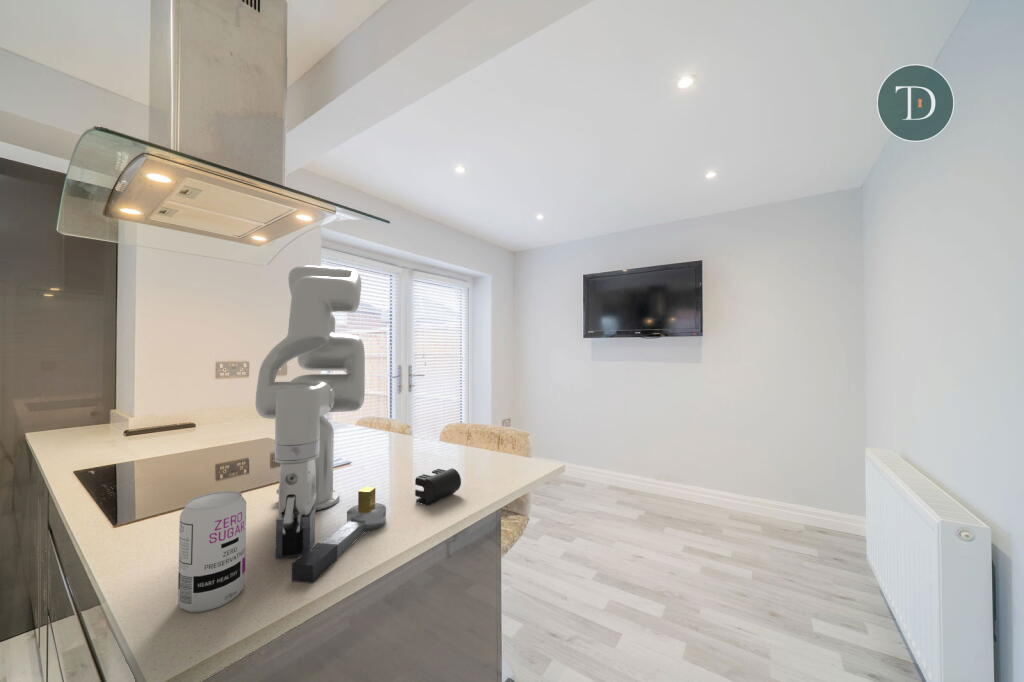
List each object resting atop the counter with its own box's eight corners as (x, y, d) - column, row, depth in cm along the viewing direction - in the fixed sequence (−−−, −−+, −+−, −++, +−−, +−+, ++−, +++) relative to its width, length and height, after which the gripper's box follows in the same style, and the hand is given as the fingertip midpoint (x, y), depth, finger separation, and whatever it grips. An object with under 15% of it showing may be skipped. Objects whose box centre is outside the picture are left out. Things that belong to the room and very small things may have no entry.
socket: (275, 558, 72) (276, 520, 72) (283, 544, 77) (283, 508, 77) (309, 554, 73) (310, 516, 73) (314, 540, 79) (315, 504, 79)
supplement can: (202, 582, 64) (204, 490, 65) (255, 580, 65) (257, 489, 65) (163, 616, 56) (165, 510, 56) (224, 613, 57) (226, 509, 57)
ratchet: (279, 579, 65) (280, 534, 65) (358, 515, 91) (359, 482, 91) (324, 583, 64) (325, 537, 64) (391, 517, 90) (392, 483, 90)
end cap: (434, 509, 94) (435, 480, 95) (413, 502, 98) (413, 475, 98) (461, 495, 103) (461, 469, 103) (440, 490, 107) (441, 465, 107)
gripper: (311, 461, 68) (309, 566, 68) (325, 439, 85) (324, 523, 84) (261, 464, 66) (259, 573, 66) (286, 441, 82) (284, 528, 82)
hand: (296, 544), depth 75 cm, fingers closed on socket, 5 cm apart
